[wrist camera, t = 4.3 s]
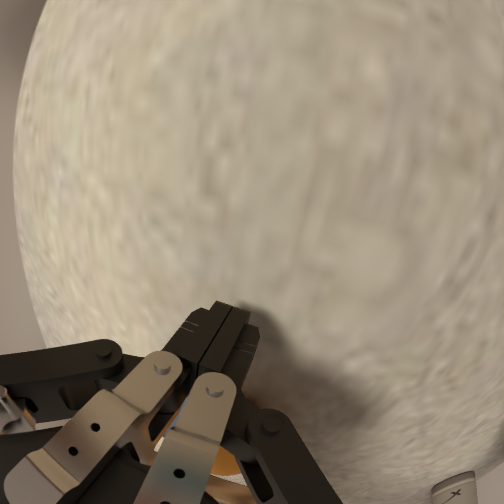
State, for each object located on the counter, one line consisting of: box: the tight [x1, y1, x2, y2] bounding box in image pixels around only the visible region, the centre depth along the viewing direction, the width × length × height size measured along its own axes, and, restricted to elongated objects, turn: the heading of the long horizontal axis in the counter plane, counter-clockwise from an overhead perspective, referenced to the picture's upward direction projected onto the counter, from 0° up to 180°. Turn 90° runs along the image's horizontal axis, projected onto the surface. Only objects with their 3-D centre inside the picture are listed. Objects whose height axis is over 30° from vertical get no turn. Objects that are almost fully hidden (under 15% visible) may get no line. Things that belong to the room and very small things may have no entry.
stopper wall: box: [146, 451, 257, 504], centre depth 24 cm, size 20×2×3 cm, turn 78°
